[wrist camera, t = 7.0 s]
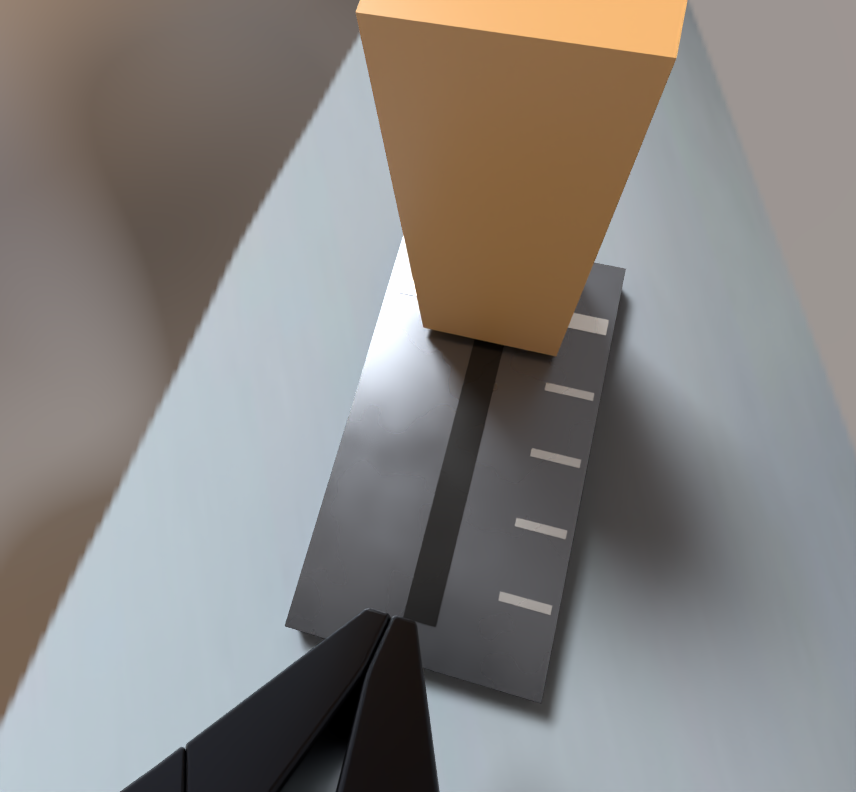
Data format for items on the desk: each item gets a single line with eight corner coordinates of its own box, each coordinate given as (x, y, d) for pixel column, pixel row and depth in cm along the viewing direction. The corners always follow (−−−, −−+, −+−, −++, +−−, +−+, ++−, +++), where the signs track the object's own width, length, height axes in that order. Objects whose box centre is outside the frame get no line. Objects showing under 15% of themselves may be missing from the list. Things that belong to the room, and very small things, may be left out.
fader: (556, 356, 17) (680, 46, 7) (423, 327, 18) (352, 0, 7) (575, 265, 18) (715, -139, 8) (447, 240, 18) (415, -169, 8)
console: (537, 694, 16) (541, 703, 15) (295, 622, 17) (284, 626, 16) (617, 283, 19) (625, 268, 18) (409, 242, 20) (406, 225, 19)
